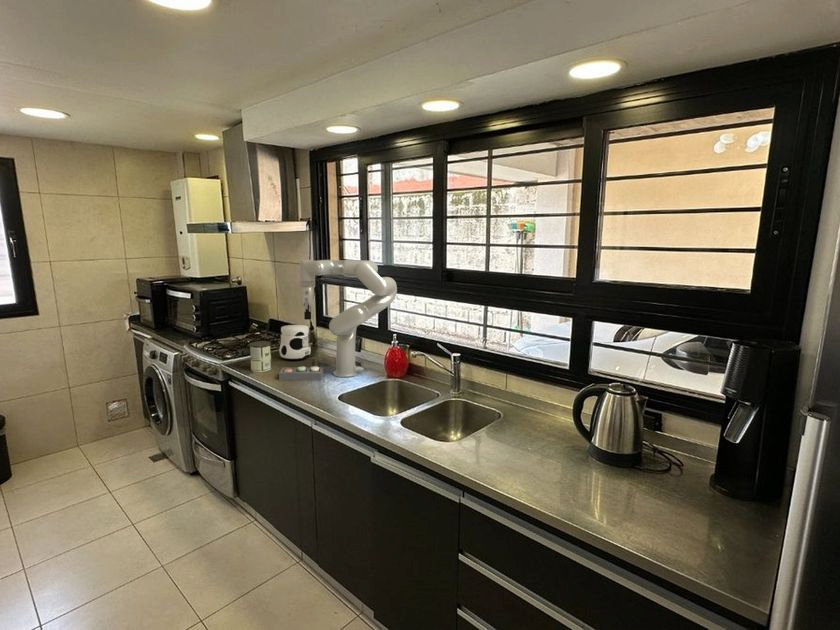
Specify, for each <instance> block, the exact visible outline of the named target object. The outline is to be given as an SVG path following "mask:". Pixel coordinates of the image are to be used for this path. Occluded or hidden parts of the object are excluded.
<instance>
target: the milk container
mask: <svg viewBox="0 0 840 630" xmlns="http://www.w3.org/2000/svg"><path fill="white" fill-rule="evenodd" d="M311 350H312V349H311V344H310V328H309V326H308V325H304V324H288V325H283V326H281V327H280V345H279V350H278V351H279V356H280V357H281V358H282V359H284V360H290V361H298V360H304V359H307V358H308V357H309V356H310V355H311Z"/></svg>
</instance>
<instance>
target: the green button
mask: <svg viewBox="0 0 840 630" xmlns="http://www.w3.org/2000/svg"><path fill="white" fill-rule="evenodd" d="M296 367H297V366H296ZM297 371H298V372H306V366H304V365H302V366H301V365H300V366H298V367H297Z"/></svg>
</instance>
